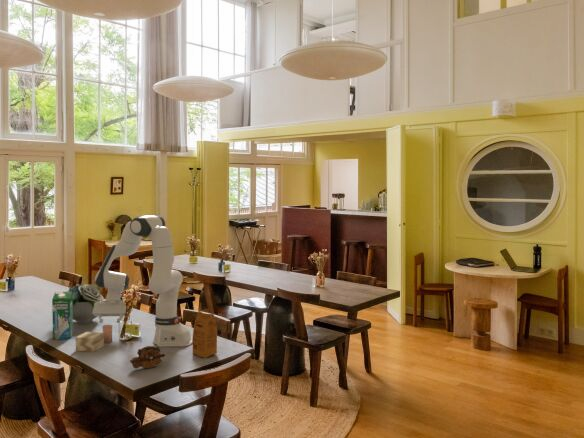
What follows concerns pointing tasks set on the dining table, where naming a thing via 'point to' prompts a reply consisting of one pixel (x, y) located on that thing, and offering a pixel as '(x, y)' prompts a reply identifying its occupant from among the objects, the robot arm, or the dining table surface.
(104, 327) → the brown upright cylinder
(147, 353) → the wooden carving
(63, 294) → the milk carton
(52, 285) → the dining table surface
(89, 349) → the beige patterned block
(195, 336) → the coffee package
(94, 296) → the flower arrangement
